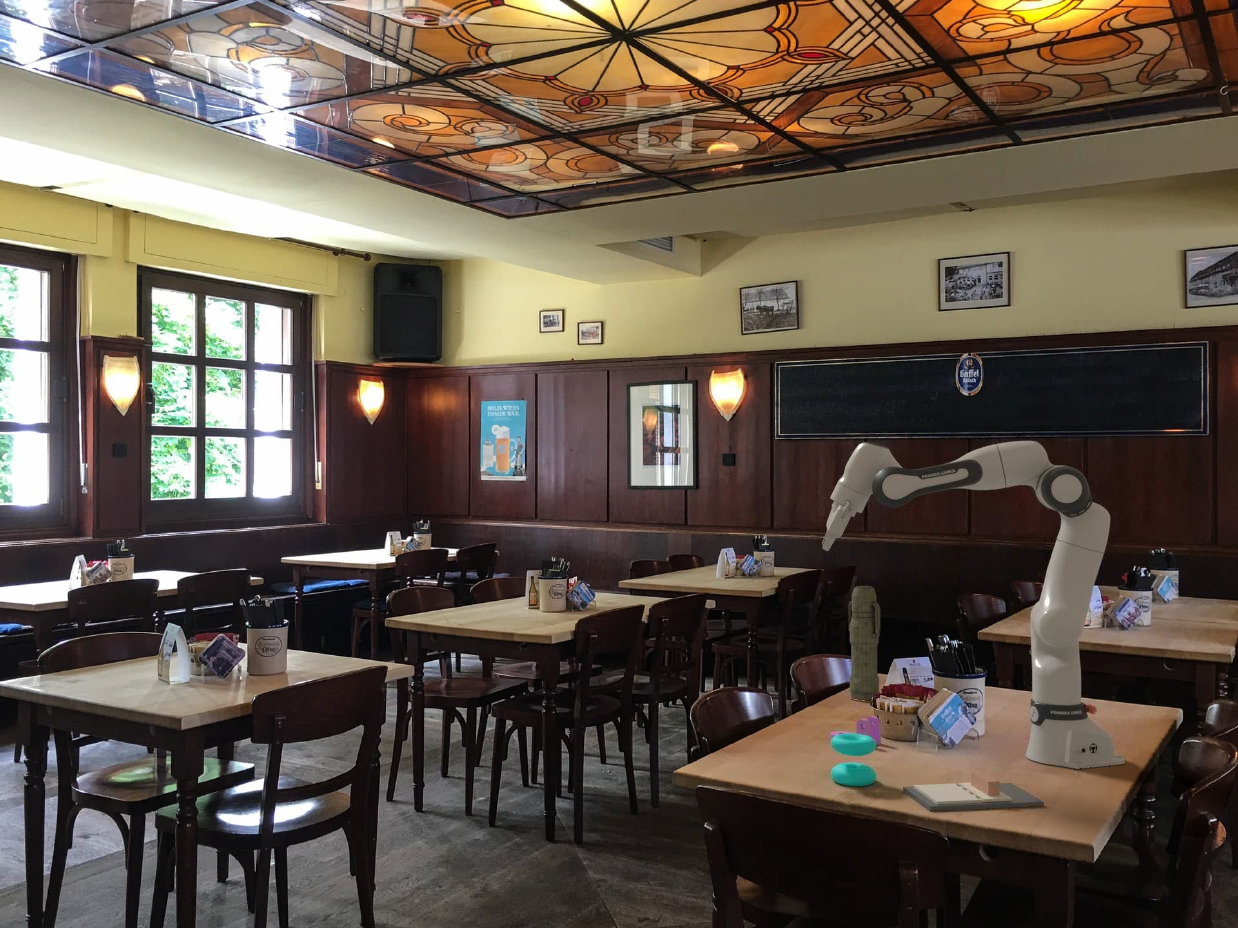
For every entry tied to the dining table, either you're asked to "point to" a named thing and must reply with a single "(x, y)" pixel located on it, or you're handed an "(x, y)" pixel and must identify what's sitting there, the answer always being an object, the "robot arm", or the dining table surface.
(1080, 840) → the dining table surface
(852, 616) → the thermos
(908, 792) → the pad
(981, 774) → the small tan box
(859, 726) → the bracket
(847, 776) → the donuts
